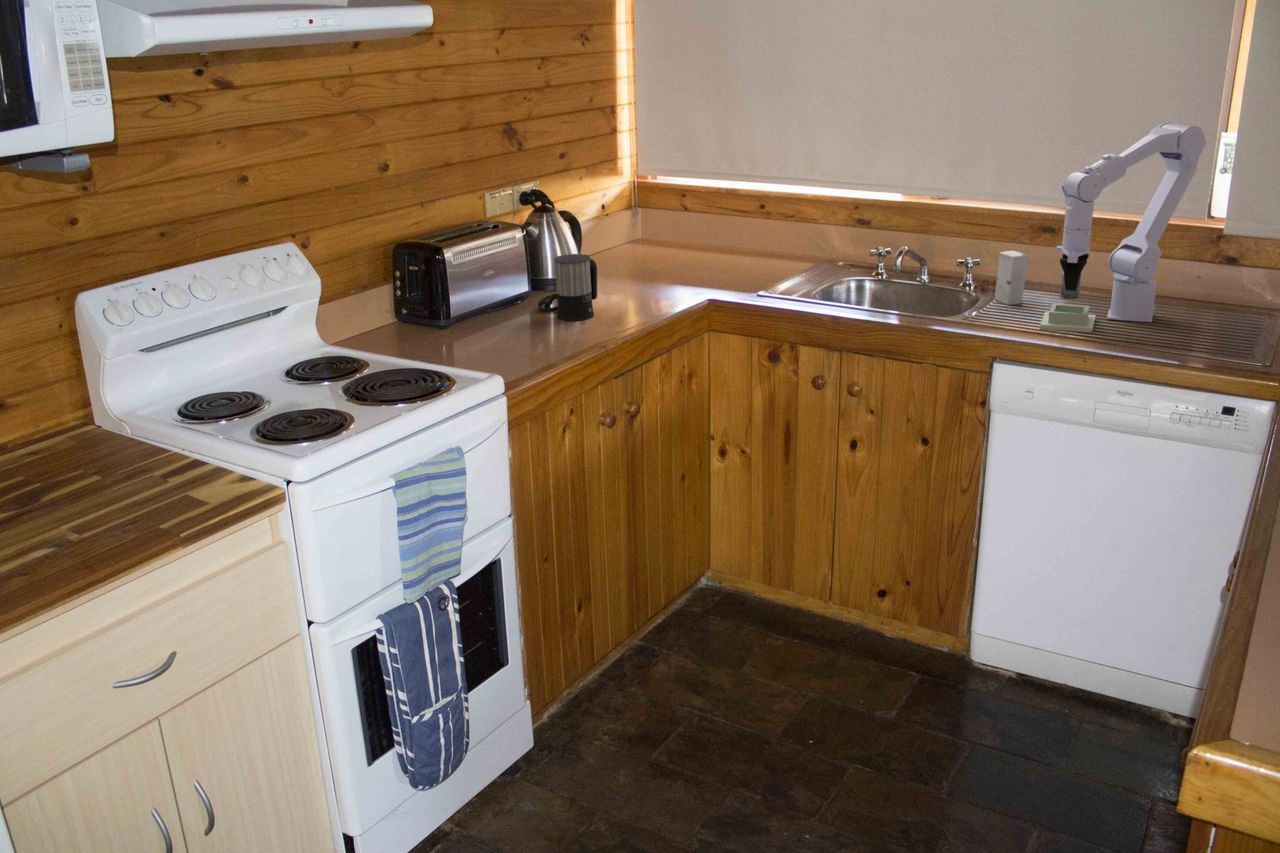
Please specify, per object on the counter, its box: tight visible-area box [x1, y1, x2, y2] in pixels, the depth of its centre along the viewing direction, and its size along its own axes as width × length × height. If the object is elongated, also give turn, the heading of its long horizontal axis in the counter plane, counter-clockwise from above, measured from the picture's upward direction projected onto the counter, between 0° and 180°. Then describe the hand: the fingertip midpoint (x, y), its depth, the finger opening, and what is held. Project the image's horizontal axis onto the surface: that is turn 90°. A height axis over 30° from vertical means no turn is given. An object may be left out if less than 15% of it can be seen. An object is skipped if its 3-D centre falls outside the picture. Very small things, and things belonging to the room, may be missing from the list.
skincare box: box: [994, 250, 1029, 306], centre depth 276 cm, size 6×4×12 cm
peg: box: [1060, 269, 1082, 300], centre depth 255 cm, size 4×4×7 cm
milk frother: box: [537, 253, 598, 322], centre depth 280 cm, size 14×16×15 cm
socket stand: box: [1039, 303, 1097, 334], centre depth 257 cm, size 11×12×4 cm
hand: (1071, 287), depth 255 cm, fingers closed on peg, 4 cm apart
